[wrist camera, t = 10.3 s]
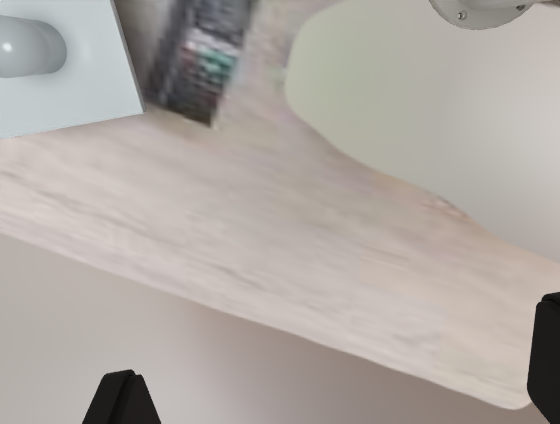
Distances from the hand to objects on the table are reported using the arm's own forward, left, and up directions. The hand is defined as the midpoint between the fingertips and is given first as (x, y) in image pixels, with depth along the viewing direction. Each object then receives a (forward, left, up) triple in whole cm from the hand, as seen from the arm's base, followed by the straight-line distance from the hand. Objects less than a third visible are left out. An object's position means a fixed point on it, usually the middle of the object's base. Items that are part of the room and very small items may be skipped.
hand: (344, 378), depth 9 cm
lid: (+15, -10, -25) cm, 30 cm away
